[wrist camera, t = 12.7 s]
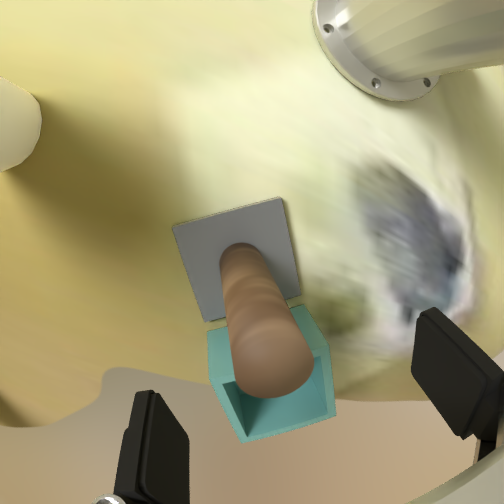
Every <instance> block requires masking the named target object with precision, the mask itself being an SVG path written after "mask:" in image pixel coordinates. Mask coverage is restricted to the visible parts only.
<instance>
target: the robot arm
mask: <svg viewBox="0 0 504 504" xmlns="http://www.w3.org/2000/svg"><path fill="white" fill-rule="evenodd" d="M312 20H313V26H314V30H315V33H316V37H317V39H318V41H319V43H320V45H321V47H322V49H323V51H324V52H325V54H326V55H327V57H328V58H329V60H330V61H331V63H332V64H333V65H334V66H335V67H336V68H337V69H338V71H339V72H340V73H341V74H342V75H343V76H345V77H346V78H347V79H348V80H349V81H350V82H351V83H353V84H354V85H356V86H357V87H359V88H360V89H362V90H363V91H365V92H367V93H369V94H371V95H373V96H376V97H378V98H381V99H385V100H389V101H408V100H414V99H417V98H420V97H423V96H424V95H426V94H427V93H429V92H430V91H431V90H432V89H433V88H434V86H435V85H436V84H437V82H438V80H439V78H440V75H442V74H447V73H453V72H458V71H464V70H470V69H477V68H484V67H491V66H499V65H504V0H314V2H313V8H312ZM325 31H327V32H325ZM372 84H373V85H372ZM411 373H412V375H413V377H414V379H415V380H416V381H417V383H418V384H419V385H420V387H421V388H422V389H423V391H424V392H425V393H426V395H427V396H428V398H429V399H430V400H431V402H432V403H433V404H434V406H435V407H436V409H437V410H438V411H439V413H440V414H441V415H442V417H443V418H444V420H445V421H446V423H447V424H448V426H449V427H450V428H451V430H452V431H453V433H454V434H455V435H456V436H460V437H461V438H462V440H464V439H466V438H467V437H469V436H470V435H472V434H474V435H475V436H476V438H477V443H476V449H475V456H474V461H473V466H471V467H469V468H468V469H466V470H465V471H463V472H462V473H460V474H459V475H457V476H455V477H454V478H452V479H450V480H449V481H447V482H445V483H444V484H442V485H440V486H439V487H437V488H435V489H433V490H431V491H430V492H428V493H426V494H424V495H422V496H420V497H418V498H416V499H414V500H412V501H410V502H408V503H406V504H504V371H503V370H502V369H501V368H500V367H499V366H498V365H497V364H496V363H495V362H494V361H493V360H492V359H491V358H490V357H489V356H488V355H487V354H486V353H485V352H484V351H483V350H482V349H481V348H480V347H479V346H478V345H477V344H476V343H474V342H473V341H472V340H471V339H470V338H469V337H468V336H467V335H466V334H465V333H464V332H463V331H462V330H461V329H460V328H458V327H457V326H456V325H455V324H454V323H453V322H452V321H451V320H450V319H449V318H447V317H446V316H445V315H444V314H443V313H442V312H441V311H440V310H439V309H437V308H436V307H432V308H430V309H428V310H426V311H423V312H421V313H420V316H419V318H418V319H417V322H416V332H415V342H414V350H413V357H412V365H411ZM189 492H190V491H189V438H188V435H187V433H186V432H185V431H184V429H183V428H182V426H181V425H180V424H179V422H178V421H177V419H176V418H175V416H174V415H173V413H172V412H171V410H170V409H169V407H168V406H167V404H166V403H165V401H164V400H163V398H162V397H161V395H160V394H159V393H155V392H154V391H153V390H147V391H140V392H137V393H136V394H135V398H134V402H133V407H132V412H131V417H130V421H129V427H128V428H127V429H126V430H125V432H124V435H123V440H122V446H121V451H120V456H119V462H118V467H117V474H116V480H115V486H114V493H113V494H103V495H101V496H99V497H97V498H96V499H95V500H94V501H93V502H92V504H190V493H189Z"/></svg>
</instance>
